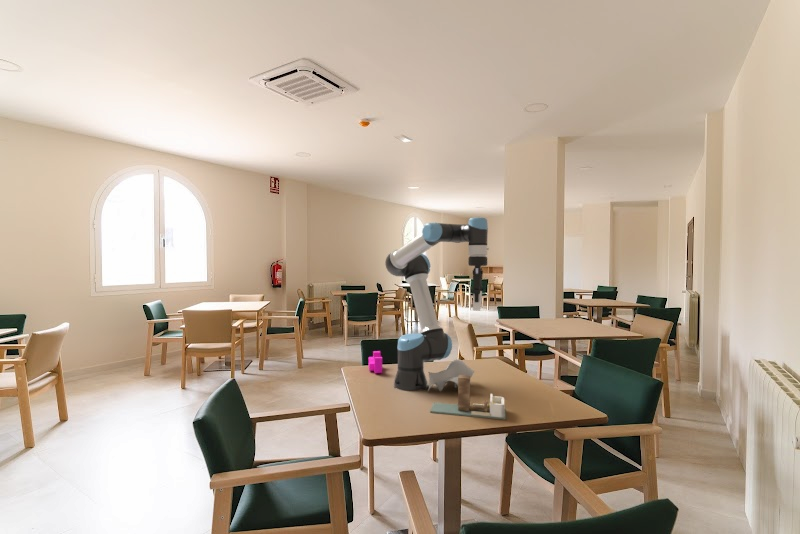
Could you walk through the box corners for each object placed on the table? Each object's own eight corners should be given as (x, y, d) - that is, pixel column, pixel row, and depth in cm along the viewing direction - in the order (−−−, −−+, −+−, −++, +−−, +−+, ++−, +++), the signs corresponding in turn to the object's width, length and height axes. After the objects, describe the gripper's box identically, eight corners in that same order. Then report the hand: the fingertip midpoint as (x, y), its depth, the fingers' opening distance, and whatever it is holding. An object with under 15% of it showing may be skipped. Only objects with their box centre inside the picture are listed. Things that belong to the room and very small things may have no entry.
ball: (491, 402, 144) (500, 407, 143) (491, 398, 148) (500, 404, 147) (486, 410, 145) (494, 415, 144) (486, 406, 148) (495, 412, 147)
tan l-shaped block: (457, 410, 146) (457, 378, 146) (459, 405, 152) (459, 374, 151) (487, 413, 144) (487, 380, 143) (487, 408, 149) (487, 376, 149)
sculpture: (469, 397, 164) (469, 374, 164) (424, 393, 169) (424, 370, 169) (476, 380, 188) (476, 359, 187) (436, 376, 193) (436, 356, 193)
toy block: (368, 365, 213) (368, 351, 213) (380, 365, 214) (380, 351, 214) (369, 373, 198) (369, 358, 198) (382, 372, 199) (382, 358, 199)
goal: (489, 416, 142) (489, 401, 142) (490, 407, 150) (490, 393, 150) (504, 417, 141) (504, 402, 141) (504, 408, 149) (504, 394, 149)
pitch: (430, 412, 147) (430, 408, 147) (434, 403, 156) (434, 399, 156) (505, 419, 140) (505, 415, 140) (505, 410, 149) (505, 406, 149)
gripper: (486, 255, 148) (486, 312, 148) (488, 256, 172) (487, 305, 173) (465, 255, 150) (465, 312, 150) (470, 256, 174) (470, 304, 174)
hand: (477, 308), depth 161 cm, fingers open, 13 cm apart
